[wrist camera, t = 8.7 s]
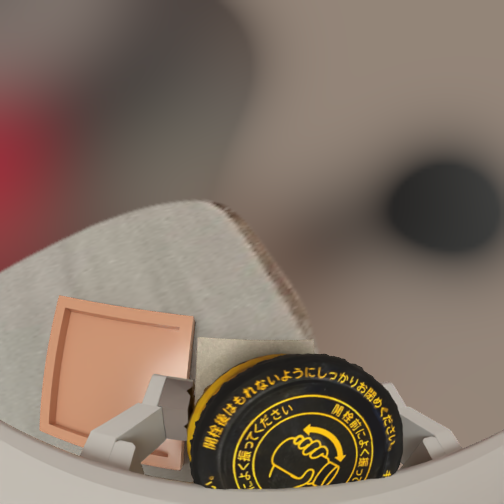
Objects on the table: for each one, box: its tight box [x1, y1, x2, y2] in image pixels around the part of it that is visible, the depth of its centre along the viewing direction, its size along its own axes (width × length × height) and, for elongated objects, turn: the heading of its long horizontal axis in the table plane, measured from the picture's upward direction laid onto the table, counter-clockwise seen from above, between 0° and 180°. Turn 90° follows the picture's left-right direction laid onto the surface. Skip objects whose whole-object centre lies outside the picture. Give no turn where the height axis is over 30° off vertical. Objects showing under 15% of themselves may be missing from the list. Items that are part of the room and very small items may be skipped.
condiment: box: [186, 337, 403, 490], centre depth 11 cm, size 7×8×12 cm
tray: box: [40, 295, 195, 471], centre depth 25 cm, size 15×15×2 cm
